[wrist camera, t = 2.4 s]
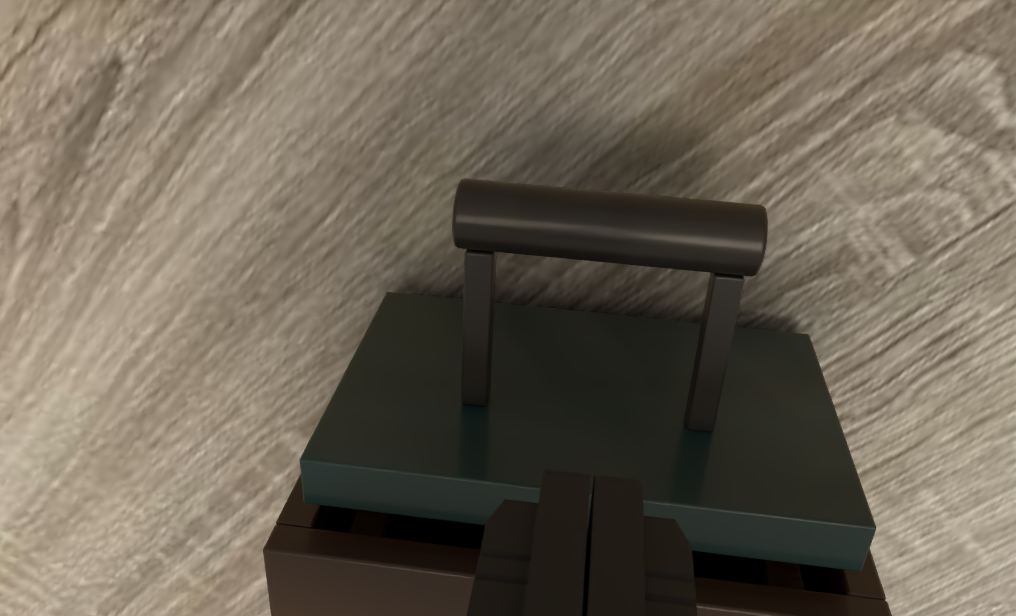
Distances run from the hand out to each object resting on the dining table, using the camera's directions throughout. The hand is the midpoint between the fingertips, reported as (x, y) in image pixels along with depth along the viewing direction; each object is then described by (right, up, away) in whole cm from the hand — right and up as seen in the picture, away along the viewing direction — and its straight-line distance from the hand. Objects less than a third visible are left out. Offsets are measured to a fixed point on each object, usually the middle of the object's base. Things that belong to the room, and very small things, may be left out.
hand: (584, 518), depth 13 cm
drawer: (+1, 0, +12) cm, 12 cm away
